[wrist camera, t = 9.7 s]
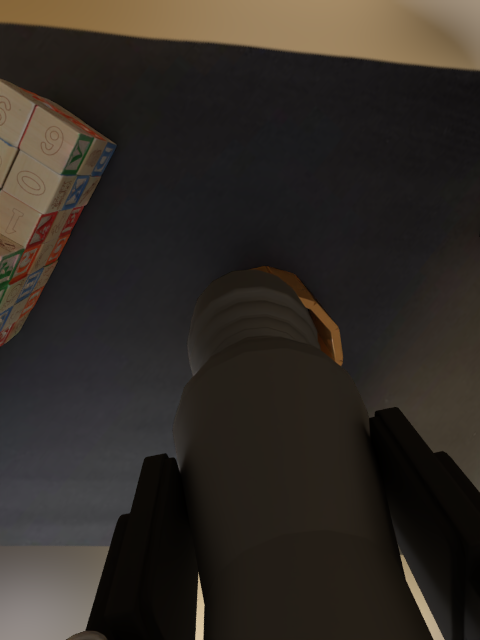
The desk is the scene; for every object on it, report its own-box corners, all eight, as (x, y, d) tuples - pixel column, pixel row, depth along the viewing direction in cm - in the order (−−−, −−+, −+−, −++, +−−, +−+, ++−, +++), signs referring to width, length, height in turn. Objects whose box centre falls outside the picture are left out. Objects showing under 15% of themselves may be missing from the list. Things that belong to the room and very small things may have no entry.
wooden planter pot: (221, 378, 42) (222, 429, 34) (195, 281, 38) (189, 311, 30) (323, 356, 42) (349, 402, 34) (307, 256, 38) (332, 279, 29)
